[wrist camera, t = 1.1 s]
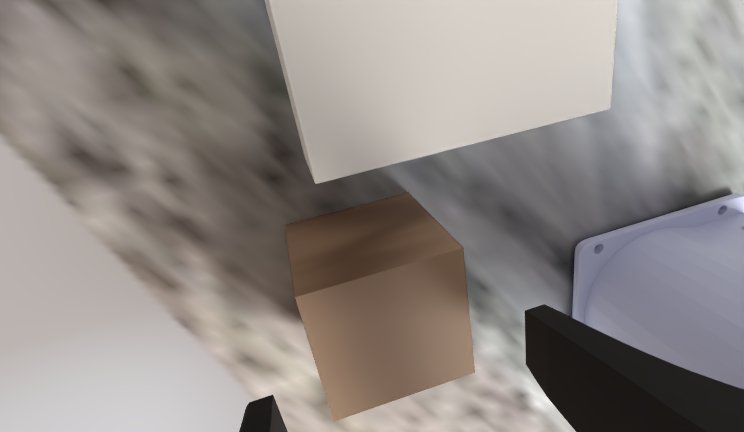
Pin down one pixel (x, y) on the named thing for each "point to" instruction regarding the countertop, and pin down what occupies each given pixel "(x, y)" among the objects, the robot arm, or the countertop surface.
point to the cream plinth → (436, 73)
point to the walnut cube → (381, 302)
